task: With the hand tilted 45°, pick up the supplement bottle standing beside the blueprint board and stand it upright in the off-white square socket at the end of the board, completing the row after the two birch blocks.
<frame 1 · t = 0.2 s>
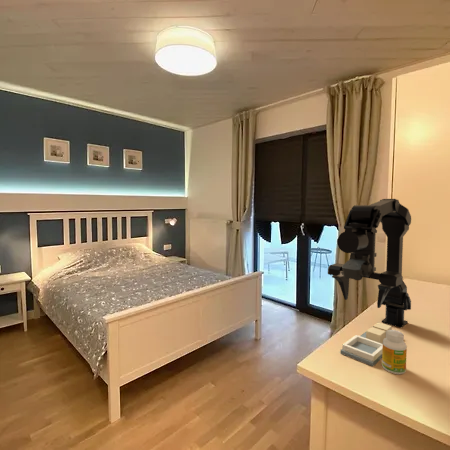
hand: (361, 303, 82), 14 cm above the dresser, tool pointing down, fingers open, 9 cm apart
supplement bottle: (393, 369, 75), on the dresser
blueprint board: (372, 345, 86), on the dresser
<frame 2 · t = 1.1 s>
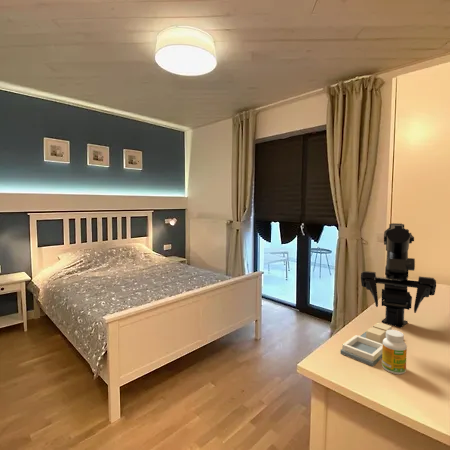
hand: (395, 309, 80), 13 cm above the dresser, tool tilted 45°, fingers open, 9 cm apart
nothing on the dresser moved.
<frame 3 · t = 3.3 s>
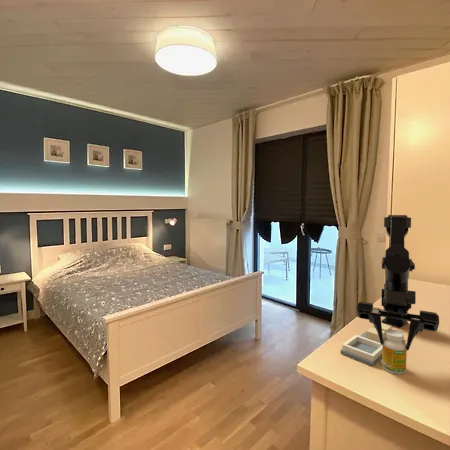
hand: (394, 346, 73), 7 cm above the dresser, tool tilted 45°, fingers closed on supplement bottle, 5 cm apart
supplement bottle: (393, 369, 75), on the dresser, touching gripper
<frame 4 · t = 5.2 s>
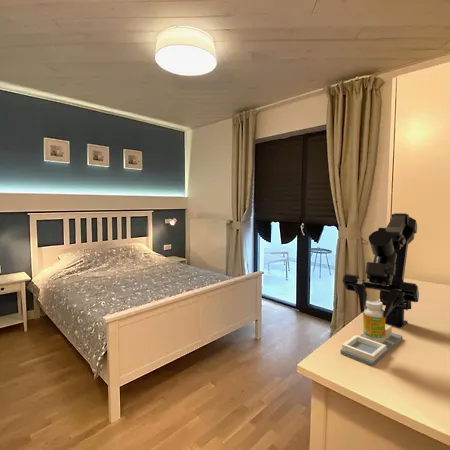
hand: (372, 314, 78), 13 cm above the dresser, tool tilted 45°, fingers closed on supplement bottle, 5 cm apart
supplement bottle: (374, 336, 79), point 6 cm above the dresser, touching gripper
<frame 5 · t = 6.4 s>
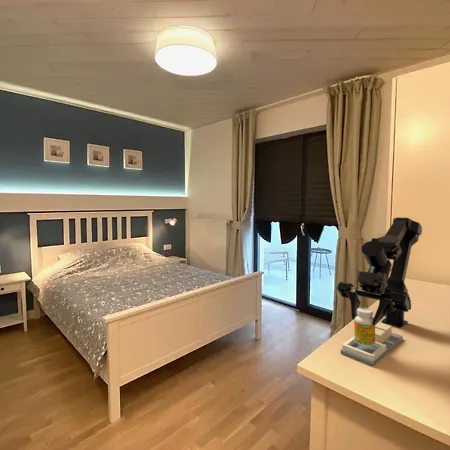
hand: (362, 321, 81), 10 cm above the dresser, tool tilted 45°, fingers closed on supplement bottle, 5 cm apart
supplement bottle: (364, 343, 82), point 3 cm above the dresser, touching gripper
when the fingers open (10 cm above the dresser, at t = 7.0 s): supplement bottle drops 2 cm, resting on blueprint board.
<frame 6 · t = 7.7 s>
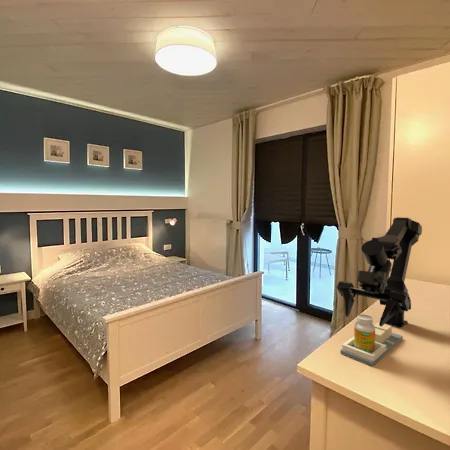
hand: (362, 320, 81), 10 cm above the dresser, tool tilted 45°, fingers open, 9 cm apart
supplement bottle: (364, 350, 83), point 1 cm above the dresser, touching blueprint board
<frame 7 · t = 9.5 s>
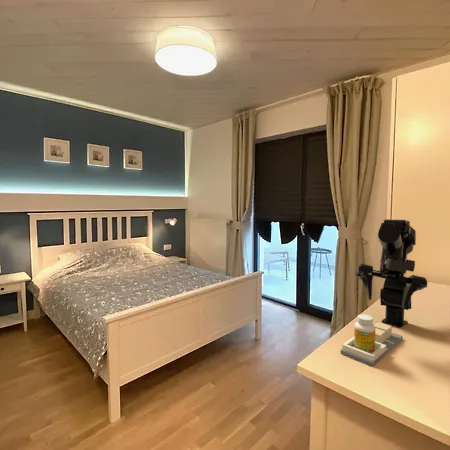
hand: (386, 304, 86), 13 cm above the dresser, tool tilted 30°, fingers open, 9 cm apart
nothing on the dresser moved.
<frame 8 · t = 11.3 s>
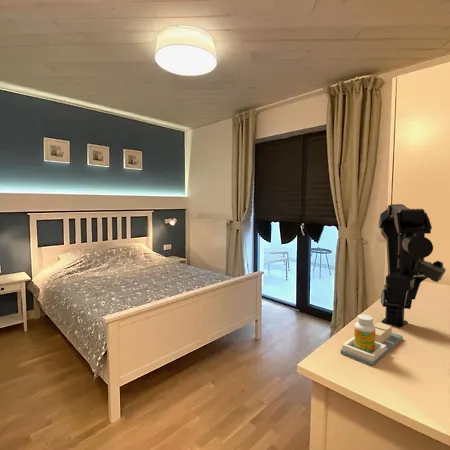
hand: (407, 302, 86), 13 cm above the dresser, tool pointing down, fingers open, 9 cm apart
nothing on the dresser moved.
at the end: supplement bottle 0.1 cm from the target spot on the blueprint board, point 0.8 cm above the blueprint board's base; supplement bottle tilted 0°; the gripper is holding nothing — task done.
